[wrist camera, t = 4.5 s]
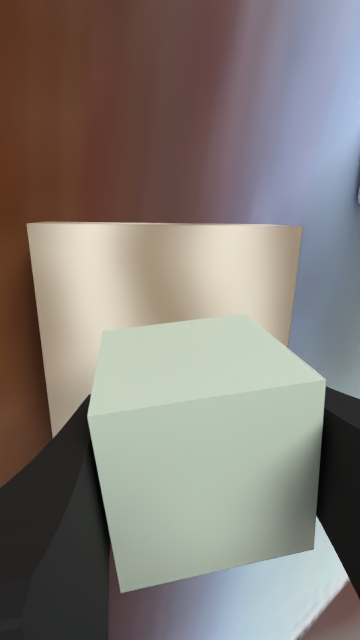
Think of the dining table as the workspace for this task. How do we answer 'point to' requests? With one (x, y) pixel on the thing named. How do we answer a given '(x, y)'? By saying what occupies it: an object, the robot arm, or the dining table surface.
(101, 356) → the green block
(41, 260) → the beige panel
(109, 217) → the dining table surface
